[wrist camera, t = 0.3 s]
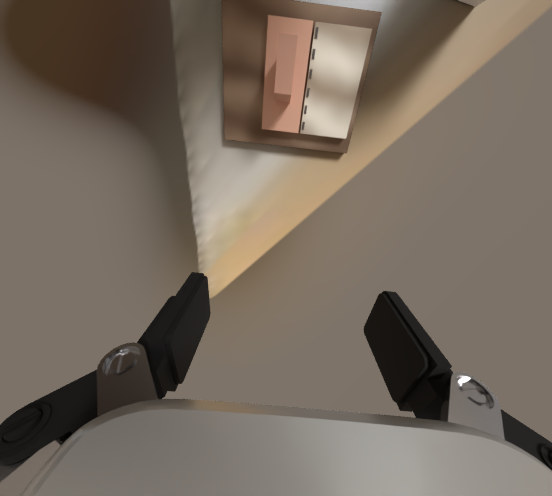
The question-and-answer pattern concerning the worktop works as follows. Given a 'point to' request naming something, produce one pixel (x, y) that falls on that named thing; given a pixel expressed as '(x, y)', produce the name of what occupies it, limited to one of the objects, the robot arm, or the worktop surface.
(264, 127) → the stub
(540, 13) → the worktop surface
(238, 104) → the board
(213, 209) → the worktop surface
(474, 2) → the milk carton
